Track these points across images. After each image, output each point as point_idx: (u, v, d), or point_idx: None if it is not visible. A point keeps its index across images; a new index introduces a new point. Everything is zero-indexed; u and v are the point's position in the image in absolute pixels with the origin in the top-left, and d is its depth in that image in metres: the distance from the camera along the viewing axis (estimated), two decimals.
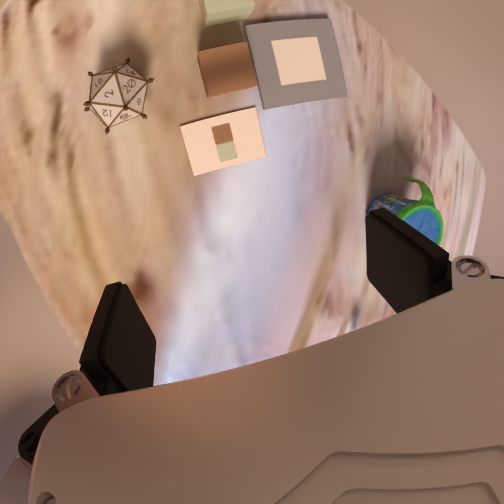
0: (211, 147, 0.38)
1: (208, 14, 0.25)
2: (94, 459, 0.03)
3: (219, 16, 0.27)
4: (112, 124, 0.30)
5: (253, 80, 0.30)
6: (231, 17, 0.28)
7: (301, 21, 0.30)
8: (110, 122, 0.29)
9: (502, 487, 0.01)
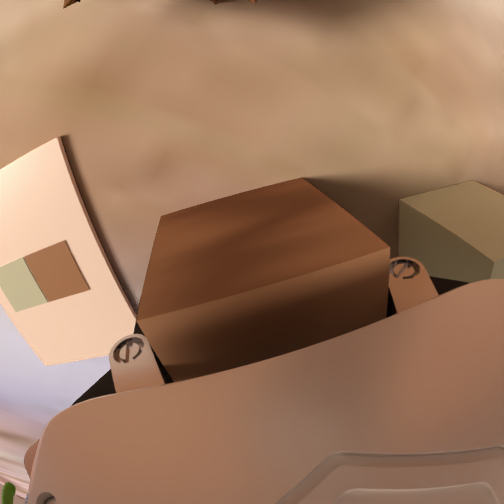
0: (15, 244, 0.10)
1: (486, 260, 0.08)
2: (94, 459, 0.03)
3: (448, 268, 0.10)
4: None
5: None
6: None
7: None
8: None
9: (502, 487, 0.01)
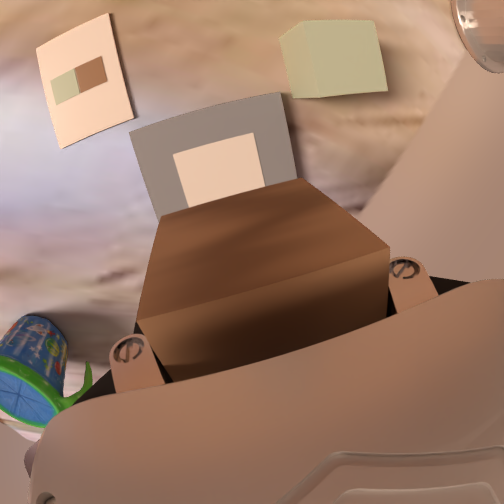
0: (71, 62, 0.17)
1: (300, 24, 0.15)
2: (94, 459, 0.03)
3: (296, 47, 0.17)
4: None
5: None
6: (294, 69, 0.19)
7: None
8: None
9: (502, 487, 0.01)
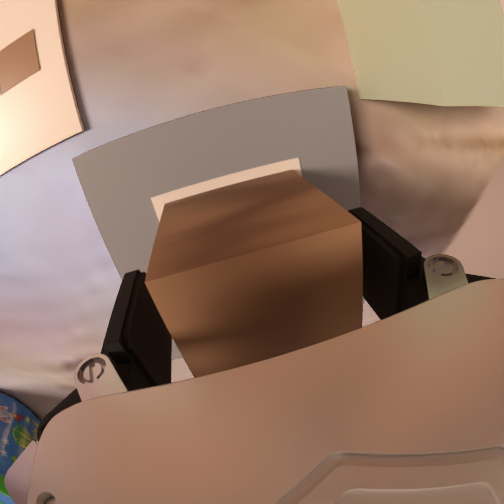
0: None
1: None
2: (94, 459, 0.03)
3: (386, 8, 0.07)
4: None
5: None
6: (374, 49, 0.10)
7: None
8: None
9: (502, 487, 0.01)
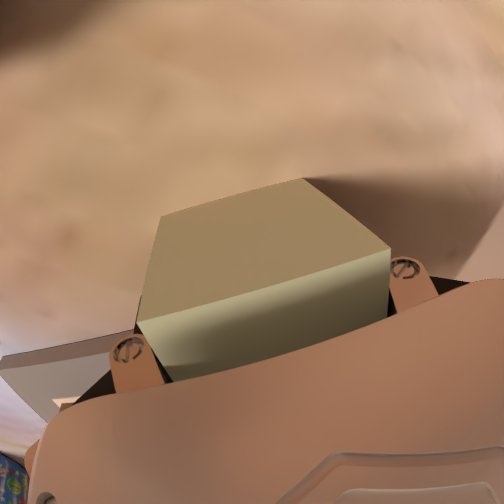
0: None
1: None
2: (94, 459, 0.03)
3: None
4: None
5: None
6: None
7: None
8: None
9: (502, 487, 0.01)
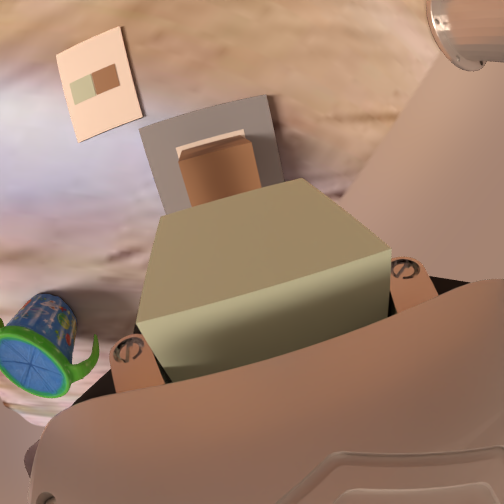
0: (88, 68, 0.21)
1: None
2: (94, 459, 0.03)
3: None
4: None
5: None
6: None
7: (279, 170, 0.29)
8: None
9: (502, 487, 0.01)
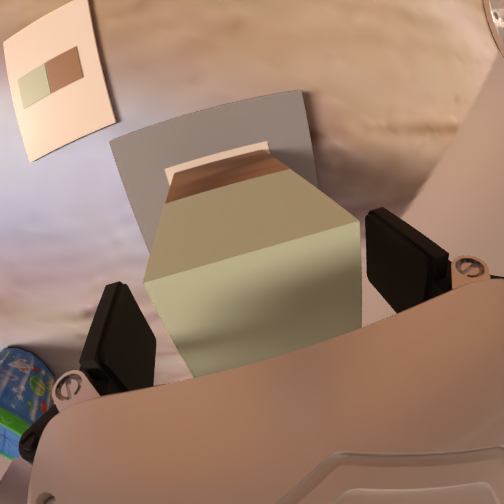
0: (42, 55, 0.13)
1: None
2: (94, 459, 0.03)
3: None
4: None
5: None
6: None
7: None
8: None
9: (502, 487, 0.01)
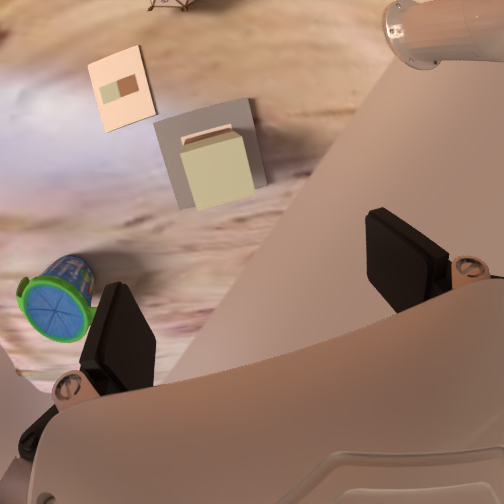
0: (114, 76, 0.30)
1: None
2: (94, 459, 0.03)
3: None
4: None
5: None
6: None
7: (258, 154, 0.37)
8: None
9: (502, 487, 0.01)
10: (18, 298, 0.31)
